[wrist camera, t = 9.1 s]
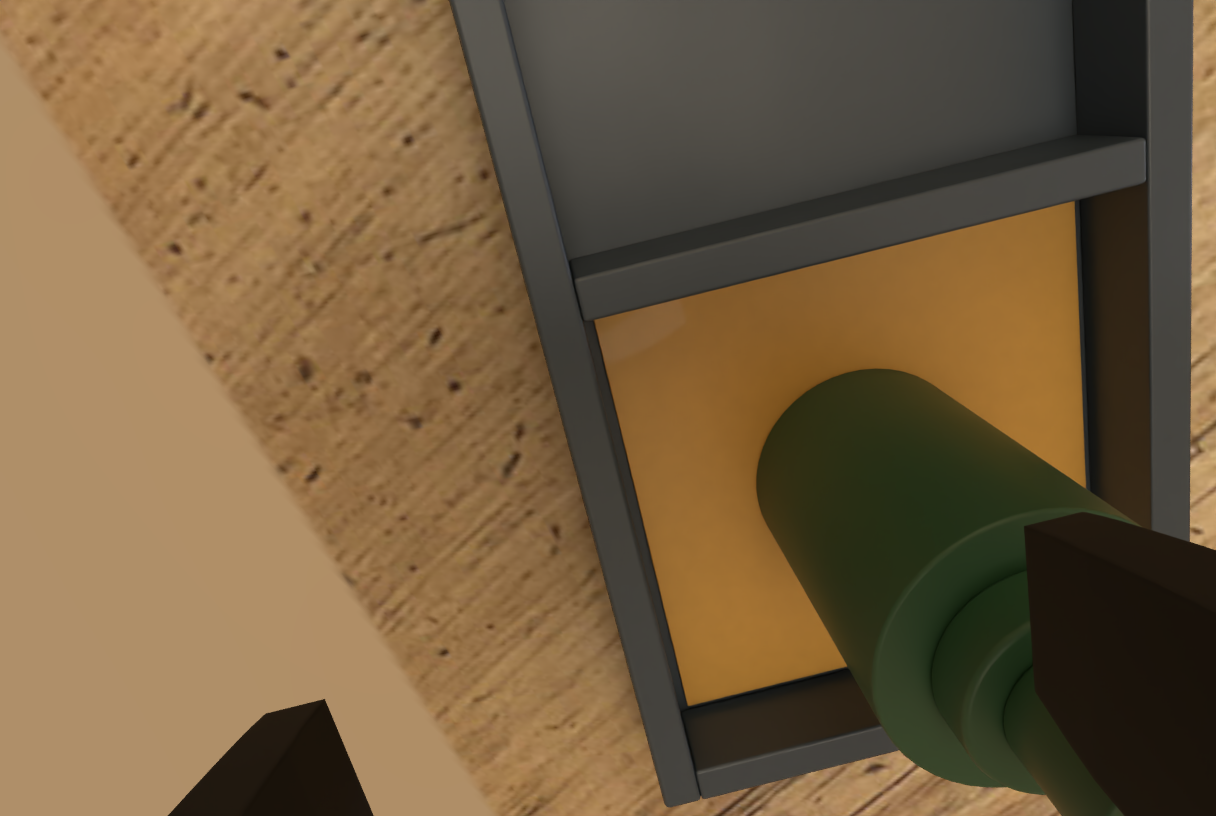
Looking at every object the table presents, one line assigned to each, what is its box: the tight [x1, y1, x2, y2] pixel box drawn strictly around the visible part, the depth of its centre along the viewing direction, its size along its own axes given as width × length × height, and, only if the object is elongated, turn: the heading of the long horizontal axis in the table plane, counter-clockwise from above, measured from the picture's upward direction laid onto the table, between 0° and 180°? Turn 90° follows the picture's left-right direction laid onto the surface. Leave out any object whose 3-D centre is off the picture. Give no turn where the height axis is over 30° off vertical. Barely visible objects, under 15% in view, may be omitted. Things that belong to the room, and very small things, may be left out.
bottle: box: [756, 369, 1141, 816], centre depth 13 cm, size 5×5×10 cm
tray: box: [449, 0, 1193, 807], centre depth 16 cm, size 12×22×2 cm, turn 13°
